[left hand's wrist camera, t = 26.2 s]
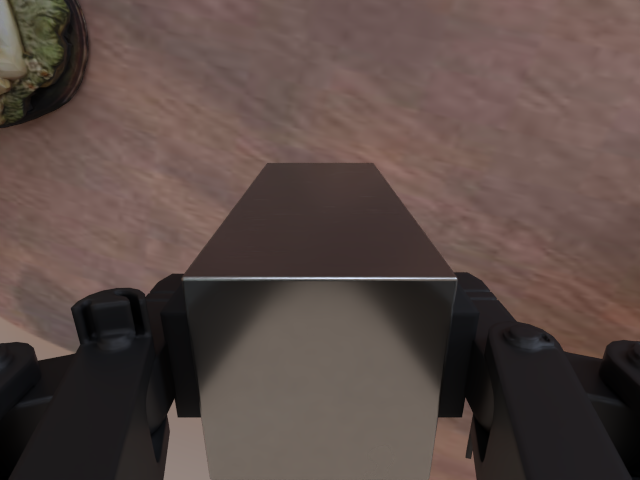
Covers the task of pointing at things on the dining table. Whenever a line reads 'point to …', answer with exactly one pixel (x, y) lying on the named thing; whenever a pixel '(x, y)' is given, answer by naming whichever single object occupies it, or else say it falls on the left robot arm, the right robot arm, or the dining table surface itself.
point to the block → (319, 330)
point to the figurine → (39, 57)
